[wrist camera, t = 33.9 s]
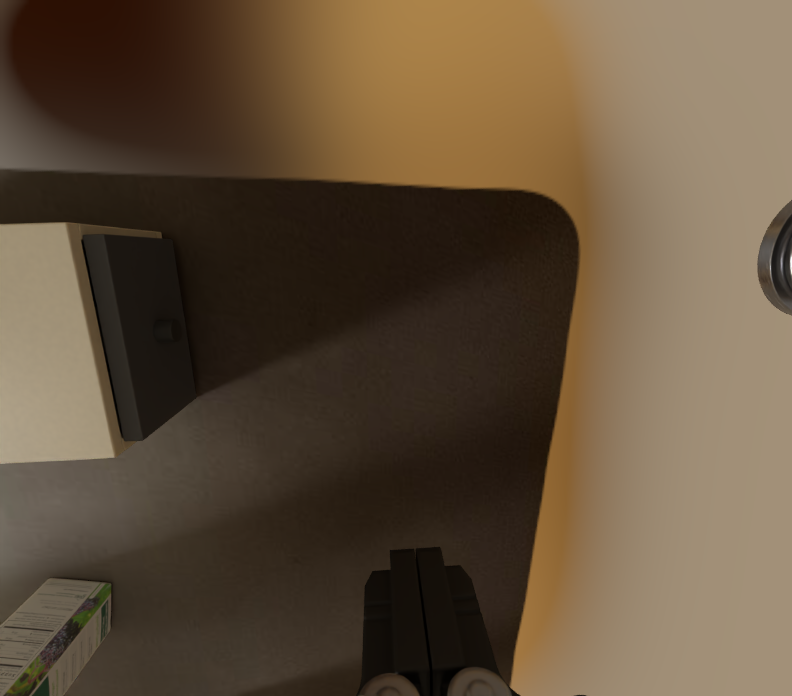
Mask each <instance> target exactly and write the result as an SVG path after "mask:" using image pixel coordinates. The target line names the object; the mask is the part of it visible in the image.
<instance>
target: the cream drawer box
mask: <svg viewBox="0 0 792 696" xmlns="http://www.w3.org/2000/svg"><path fill="white" fill-rule="evenodd" d="M86 234H110V235H123V236H137V237H150V238H162V234H161V232H156V231H146V230H136V229H127V228H117V227H108V226H98V225H88V224H79V223H69V222H55V223H21V224H0V464H3V463H22V462H42V461H61V460H80V459H99V458H115V457H117V456H118V455H120V454H121V453H122V452H123V451H125V450H126V449H128V448H129V447H130V446H132V445H133V444H134V443H135V442H137V441H126V442H125V441H124V439H123V434H122V429H121V424H120V419H119V418H118V419H117V415H116V410H115V405H114V400H113V395H112V390H111V385H110V380H109V375H108V370H107V365H106V361H105V356H104V351H103V346H102V341H101V336H100V331H99V326H98V321H97V316H96V312H95V307H94V302H93V297H92V292H91V287H90V282H89V277H88V272H87V267H86V262H85V258H84V253H83V250H84V251H85V246H84V241H83V235H86Z"/></svg>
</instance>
